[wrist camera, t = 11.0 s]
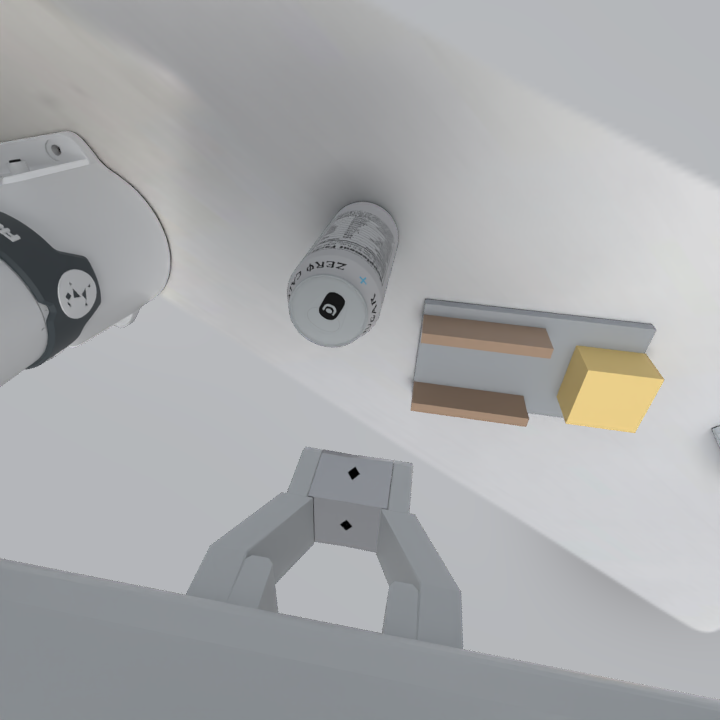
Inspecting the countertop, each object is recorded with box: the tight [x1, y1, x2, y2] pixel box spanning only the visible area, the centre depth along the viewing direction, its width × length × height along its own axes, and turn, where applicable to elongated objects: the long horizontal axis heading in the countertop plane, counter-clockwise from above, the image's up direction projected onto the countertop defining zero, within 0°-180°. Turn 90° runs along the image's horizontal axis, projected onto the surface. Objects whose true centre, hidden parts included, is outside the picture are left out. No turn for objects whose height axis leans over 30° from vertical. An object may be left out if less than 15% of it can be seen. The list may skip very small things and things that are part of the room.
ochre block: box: [556, 345, 664, 433], centre depth 39 cm, size 6×6×4 cm
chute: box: [411, 299, 656, 427], centre depth 41 cm, size 20×11×4 cm, turn 87°
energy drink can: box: [287, 202, 399, 347], centre depth 32 cm, size 6×6×15 cm
